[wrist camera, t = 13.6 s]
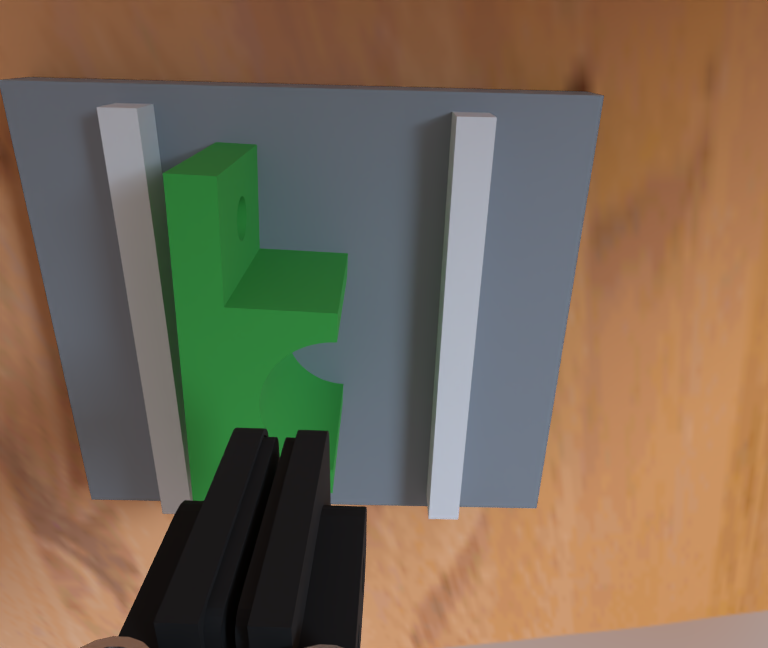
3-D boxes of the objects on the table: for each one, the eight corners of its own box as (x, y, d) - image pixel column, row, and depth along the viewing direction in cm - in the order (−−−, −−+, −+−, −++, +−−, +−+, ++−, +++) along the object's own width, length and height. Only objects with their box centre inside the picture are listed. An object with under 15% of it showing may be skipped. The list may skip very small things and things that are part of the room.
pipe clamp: (341, 473, 22) (330, 577, 17) (234, 468, 21) (198, 572, 17) (352, 148, 17) (341, 184, 13) (215, 139, 17) (159, 173, 13)
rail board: (586, 91, 18) (619, 99, 15) (527, 481, 23) (544, 532, 21) (28, 77, 17) (-30, 82, 15) (108, 472, 23) (76, 523, 21)
